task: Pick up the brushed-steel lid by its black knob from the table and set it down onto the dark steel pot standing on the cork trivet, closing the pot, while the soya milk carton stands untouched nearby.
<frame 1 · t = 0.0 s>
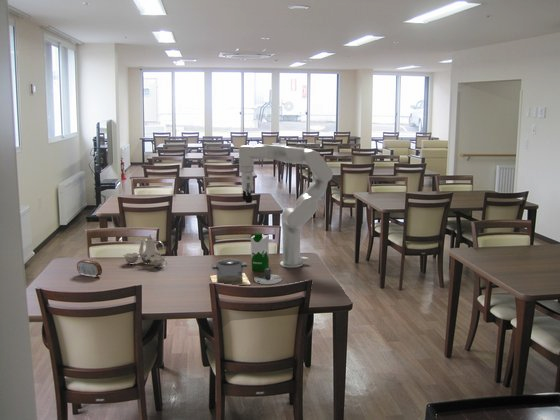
hand: (247, 201, 307), 37 cm above the table, tool pointing down, fingers open, 9 cm apart
tin: (89, 276, 303), on the table
soya milk: (260, 269, 313), on the table
pot: (229, 281, 292), on the table
lid: (267, 280, 293), on the table
chinaware: (148, 264, 325), on the table
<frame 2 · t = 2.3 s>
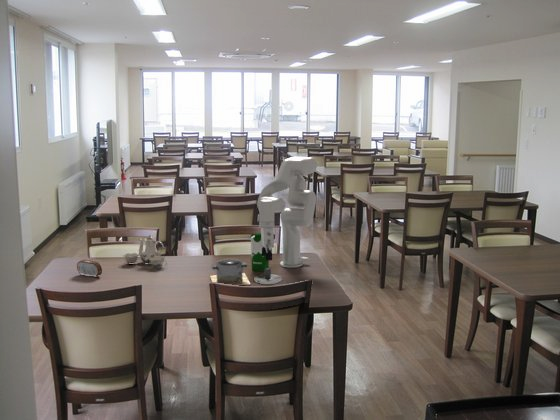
hand: (266, 257, 291), 12 cm above the table, tool pointing down, fingers open, 9 cm apart
nothing on the table moved.
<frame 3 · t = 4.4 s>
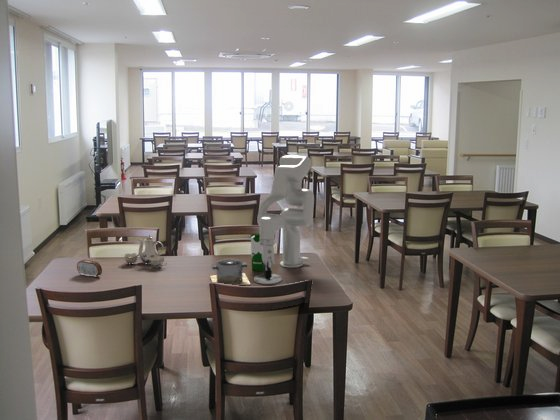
hand: (267, 276, 293), 2 cm above the table, tool pointing down, fingers closed on lid, 3 cm apart
lid: (267, 280, 293), on the table, touching gripper
everything else where it was.
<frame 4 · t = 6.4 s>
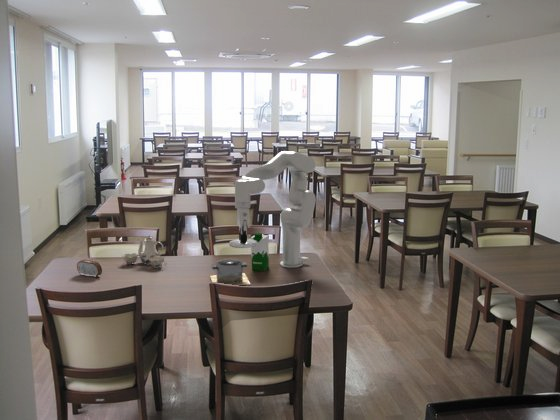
hand: (243, 240, 288), 21 cm above the table, tool pointing down, fingers closed on lid, 3 cm apart
lid: (243, 244, 289), point 19 cm above the table, touching gripper
everything else where it was.
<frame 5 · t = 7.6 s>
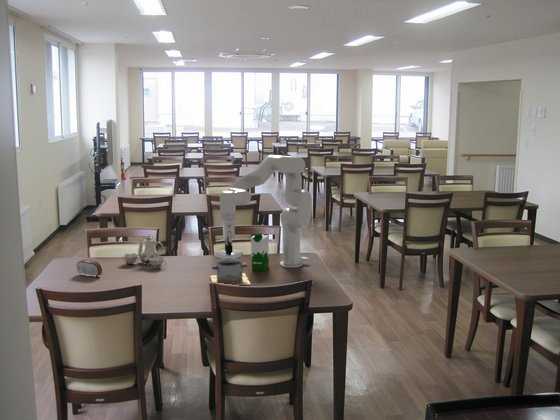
hand: (228, 251, 289), 15 cm above the table, tool pointing down, fingers closed on lid, 3 cm apart
lid: (228, 255, 289), point 13 cm above the table, touching gripper
when the fingers open (12 cm above the table, at t = 8.6 s): lid stays where it is, resting on pot.
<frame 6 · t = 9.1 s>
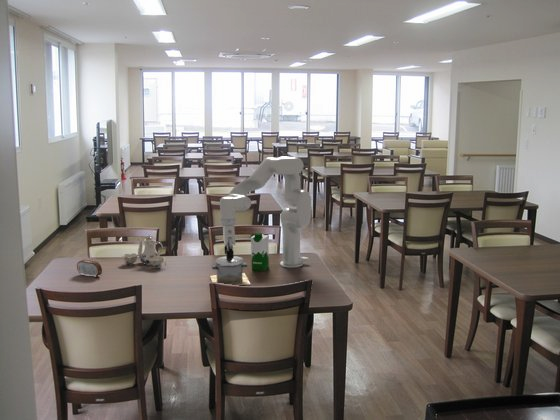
hand: (229, 255, 290), 13 cm above the table, tool pointing down, fingers open, 8 cm apart
lid: (229, 262, 290), point 10 cm above the table, touching pot
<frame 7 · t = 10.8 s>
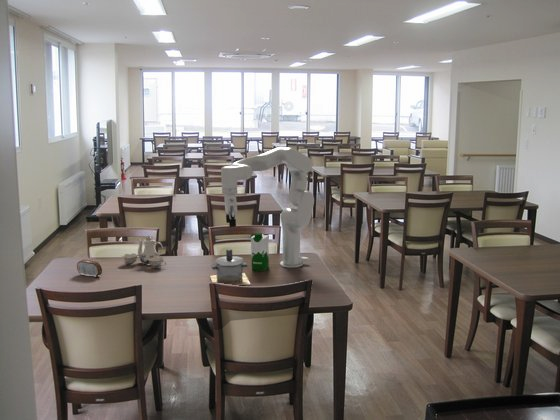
hand: (231, 224, 290), 28 cm above the table, tool pointing down, fingers open, 9 cm apart
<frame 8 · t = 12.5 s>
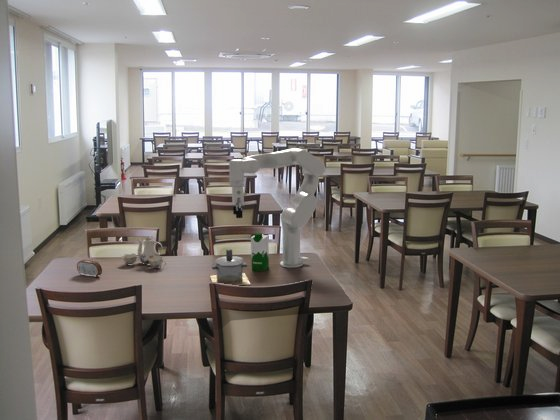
hand: (237, 216, 301), 30 cm above the table, tool pointing down, fingers open, 9 cm apart
at the end: lid 0.1 cm off-centre on the pot, point 9.8 cm above the pot's base; lid tilted 0°; the gripper is holding nothing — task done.
